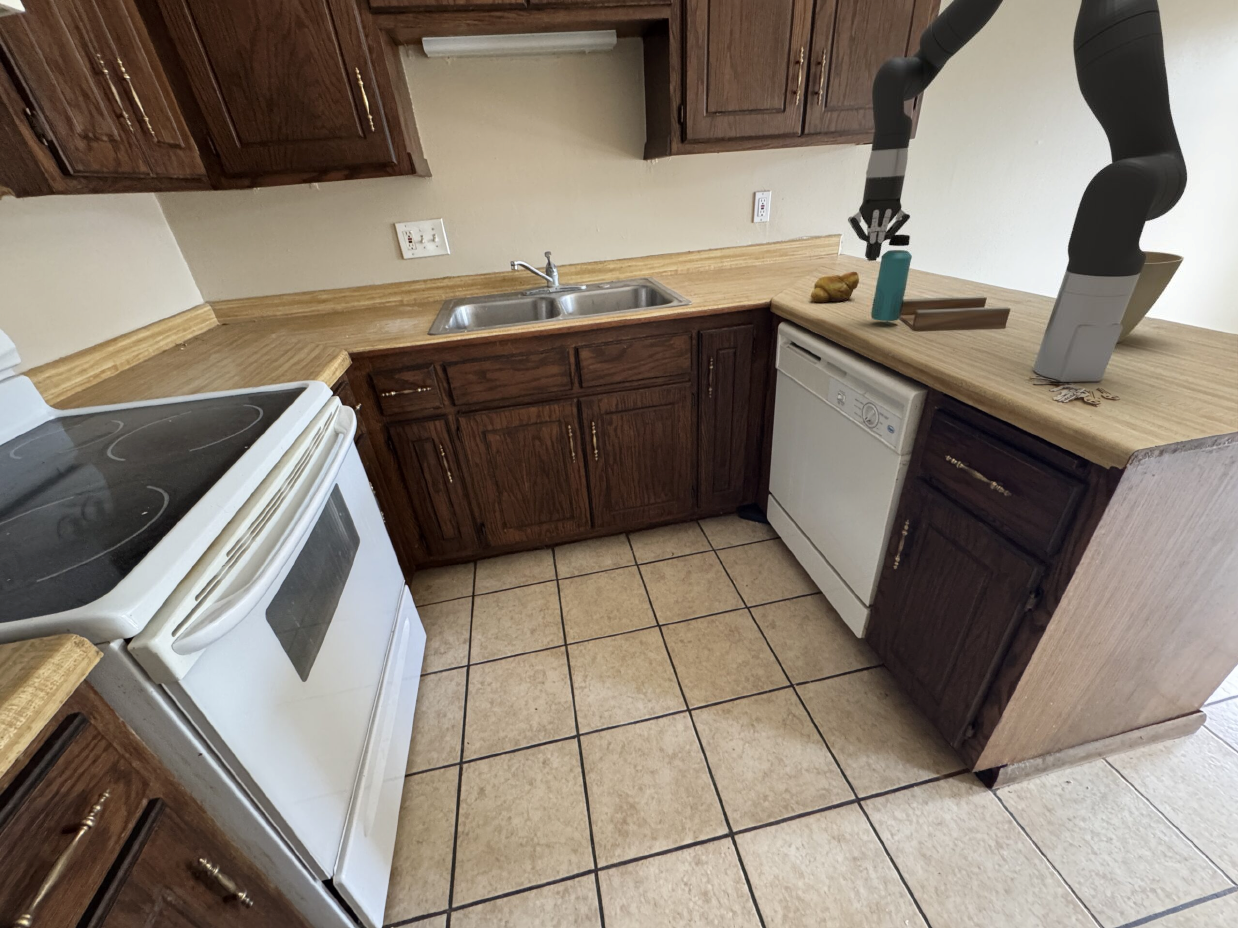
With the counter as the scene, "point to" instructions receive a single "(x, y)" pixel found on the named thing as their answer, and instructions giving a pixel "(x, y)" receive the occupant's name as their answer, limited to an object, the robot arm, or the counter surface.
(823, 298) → the bread roll
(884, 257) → the beverage bottle
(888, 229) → the robot arm
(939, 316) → the walnut cradle
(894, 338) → the counter surface
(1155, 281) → the plant pot
